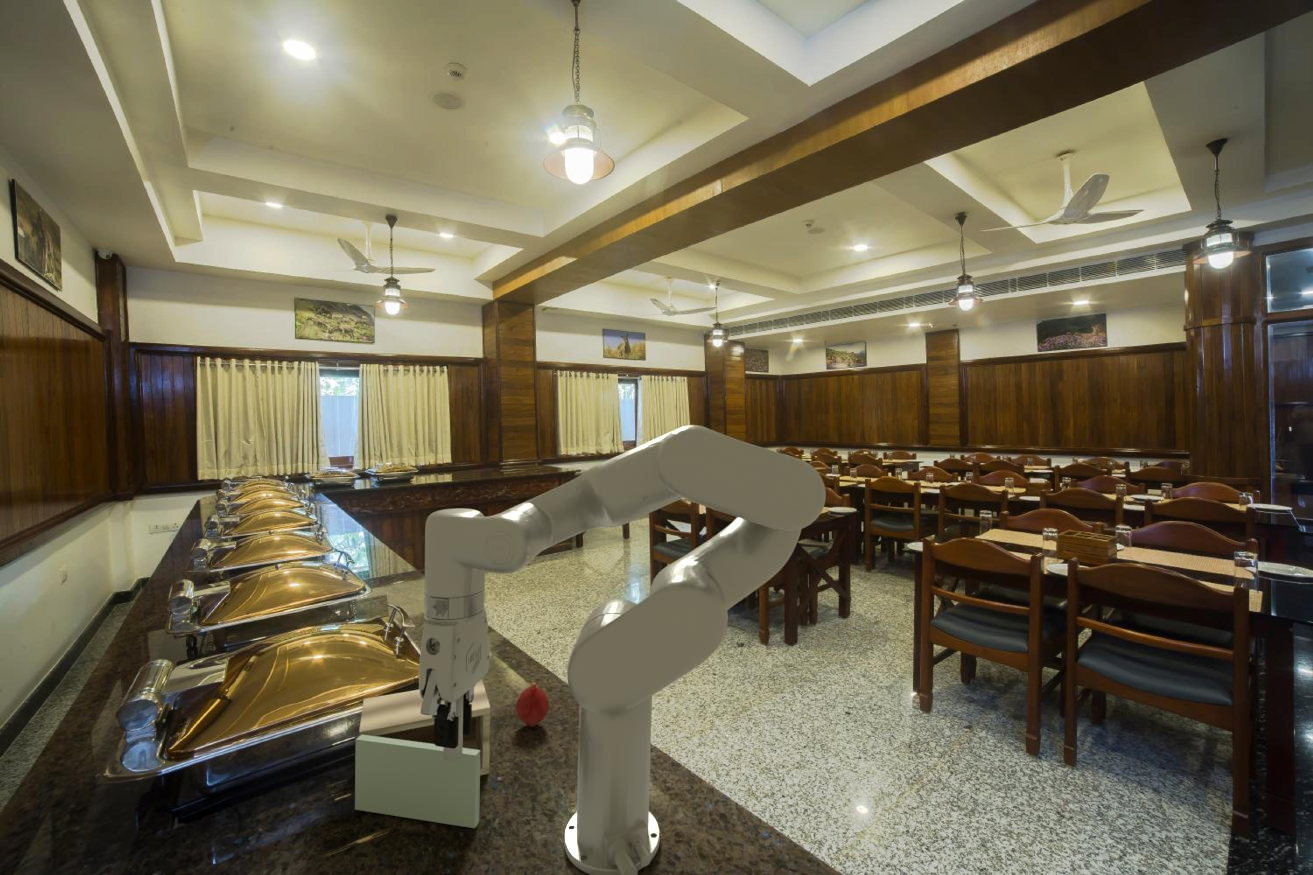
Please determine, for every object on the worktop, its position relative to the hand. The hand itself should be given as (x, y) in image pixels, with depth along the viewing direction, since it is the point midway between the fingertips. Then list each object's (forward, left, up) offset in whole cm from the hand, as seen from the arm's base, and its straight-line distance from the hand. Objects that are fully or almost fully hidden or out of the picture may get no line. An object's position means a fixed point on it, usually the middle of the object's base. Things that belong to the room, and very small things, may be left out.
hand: (453, 737), depth 73 cm
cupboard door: (+4, +5, -12) cm, 14 cm away
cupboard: (+15, +3, -13) cm, 20 cm away
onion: (+21, -15, -13) cm, 29 cm away
